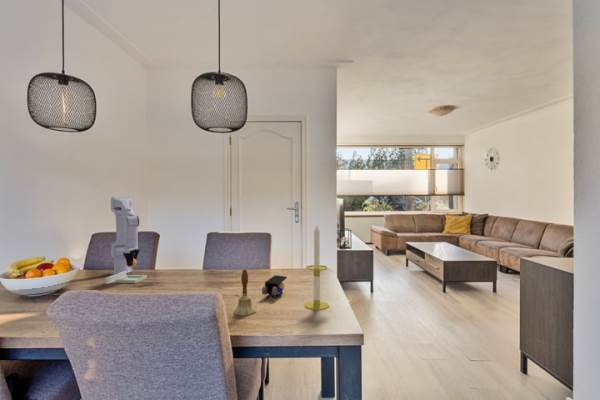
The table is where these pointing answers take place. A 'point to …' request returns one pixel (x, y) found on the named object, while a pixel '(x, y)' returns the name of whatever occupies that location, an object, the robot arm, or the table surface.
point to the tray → (131, 279)
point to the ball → (133, 263)
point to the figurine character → (273, 286)
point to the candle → (316, 277)
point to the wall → (115, 277)
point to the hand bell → (244, 299)
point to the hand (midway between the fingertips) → (131, 264)
